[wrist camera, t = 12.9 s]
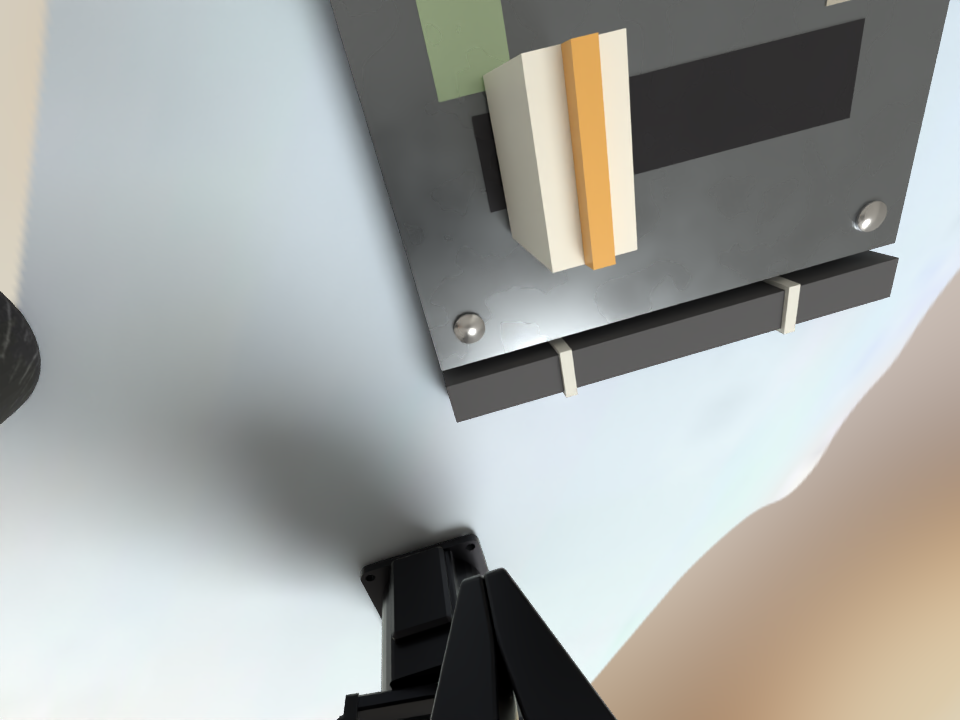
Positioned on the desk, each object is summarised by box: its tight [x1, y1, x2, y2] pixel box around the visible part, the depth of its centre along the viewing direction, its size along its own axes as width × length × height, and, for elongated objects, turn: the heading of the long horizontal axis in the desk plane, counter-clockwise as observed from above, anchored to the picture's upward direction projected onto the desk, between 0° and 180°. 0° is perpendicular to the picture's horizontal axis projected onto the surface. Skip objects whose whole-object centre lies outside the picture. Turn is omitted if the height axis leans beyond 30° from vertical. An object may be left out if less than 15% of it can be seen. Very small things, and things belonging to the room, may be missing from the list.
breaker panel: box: [330, 0, 950, 371], centre depth 16 cm, size 14×20×2 cm
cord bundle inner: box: [443, 250, 899, 422], centre depth 20 cm, size 2×20×2 cm, turn 102°
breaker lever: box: [483, 28, 637, 273], centre depth 13 cm, size 5×2×5 cm, turn 12°
